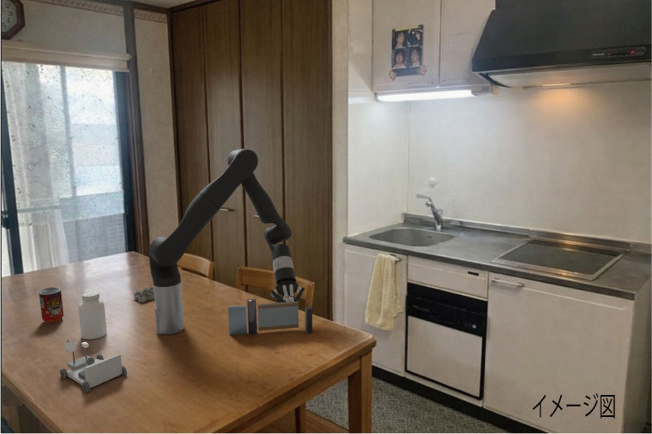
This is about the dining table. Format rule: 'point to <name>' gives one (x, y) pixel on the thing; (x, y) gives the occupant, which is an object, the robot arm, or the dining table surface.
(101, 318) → the pill bottle
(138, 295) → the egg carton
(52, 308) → the soda can
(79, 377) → the toy space rover
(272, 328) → the gate
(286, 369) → the dining table surface
